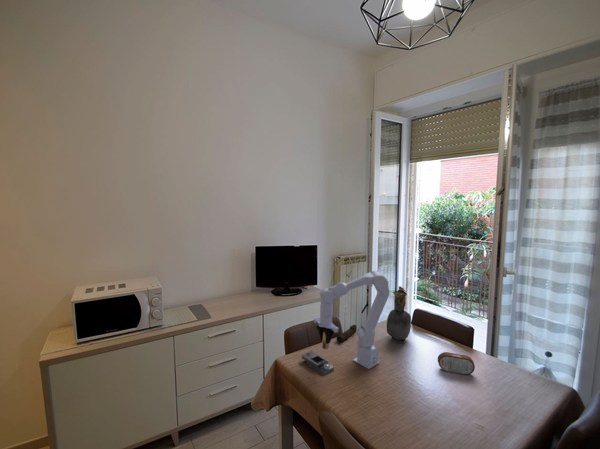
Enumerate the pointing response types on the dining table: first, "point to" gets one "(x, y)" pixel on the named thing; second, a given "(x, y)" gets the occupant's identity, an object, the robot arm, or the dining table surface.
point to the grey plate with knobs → (321, 366)
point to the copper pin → (324, 342)
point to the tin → (456, 363)
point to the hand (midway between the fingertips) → (325, 341)
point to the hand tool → (346, 333)
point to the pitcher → (399, 318)
